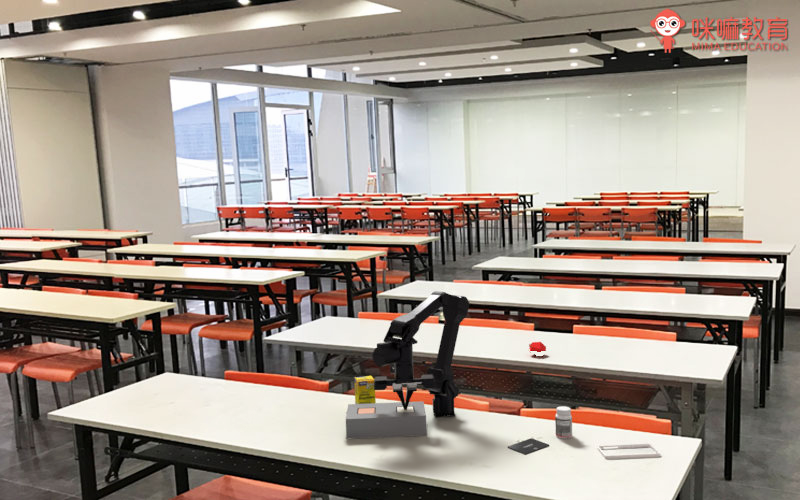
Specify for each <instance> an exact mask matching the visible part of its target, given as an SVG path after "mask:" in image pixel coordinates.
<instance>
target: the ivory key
mask: <svg viewBox="0 0 800 500" xmlns="http://www.w3.org/2000/svg"><path fill="white" fill-rule="evenodd" d="M397 412H414V410H413V406H412V407H407V410H404V408H403V407H397Z"/></svg>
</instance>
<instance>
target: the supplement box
mask: <svg viewBox="0 0 800 500" xmlns="http://www.w3.org/2000/svg"><path fill="white" fill-rule="evenodd" d="M354 399H355V400H354V401H355V403H354V404H370V403H376V390H374V377H373V376H372V375H366V376H354Z"/></svg>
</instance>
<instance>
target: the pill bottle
mask: <svg viewBox="0 0 800 500" xmlns="http://www.w3.org/2000/svg"><path fill="white" fill-rule="evenodd" d="M571 411H572V410H571V408H570V407H569V406H566V405H565V406H557V407H556V414H555V418H554V419H555V421H554V422H555V437H557V438H559V439H565V440H568V439H571V438H572V437H573V416H572V414H571V413H572V412H571Z"/></svg>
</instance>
